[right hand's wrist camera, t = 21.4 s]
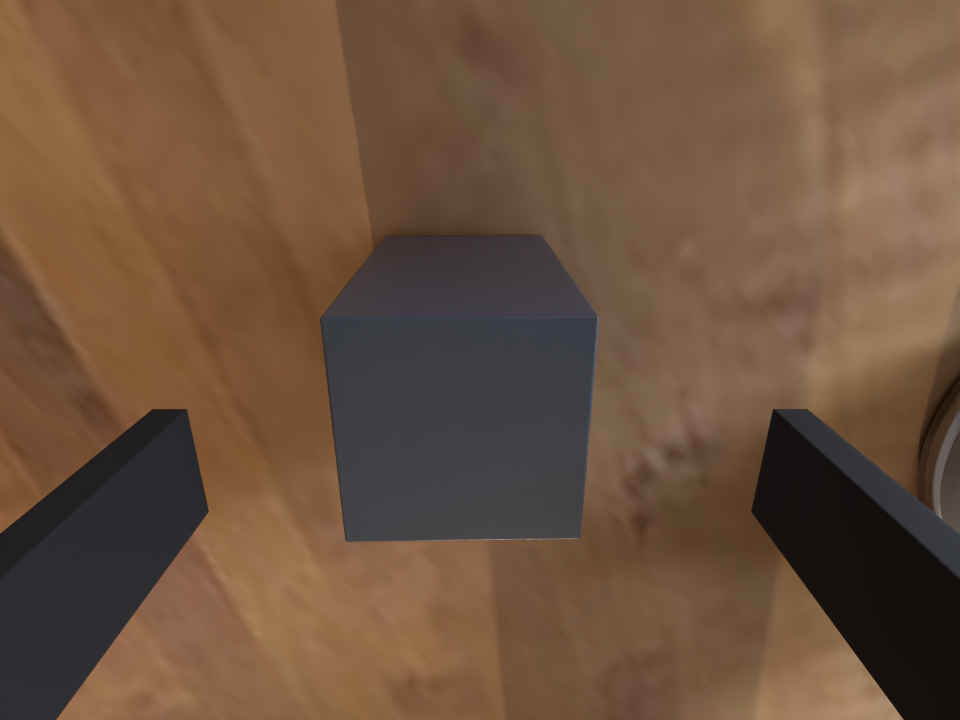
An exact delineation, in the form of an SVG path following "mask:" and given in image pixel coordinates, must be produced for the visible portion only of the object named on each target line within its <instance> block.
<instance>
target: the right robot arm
mask: <svg viewBox="0 0 960 720" xmlns="http://www.w3.org/2000/svg"><path fill="white" fill-rule="evenodd" d="M918 493H919V499H920V501H919V500H918V499H916V498H915V497H914V496H913V495H912V494H910V493H909V492H908V491H907V490H905V489H904V488H903V487H902V486H901V485H899V484H898V483H897V482H896V481H894V480H893V479H892V478H891V477H890V476H888V475H887V474H886V473H885V472H883V471H882V470H881V469H880V468H879V467H877V466H876V465H875V464H874V463H872V462H871V461H870V460H869V459H868V458H866V457H865V456H864V455H863V454H861V453H860V452H859V451H858V450H857V449H855V448H854V447H853V446H852V445H850V444H849V443H848V442H847V441H845V440H844V439H843V438H842V437H841V436H839V435H838V434H837V433H836V432H834V431H833V430H832V429H831V428H830V427H828V426H827V425H826V424H825V423H823V422H822V421H821V420H820V419H819V418H817V417H816V416H815V415H814V414H812V413H811V412H810V411H809V410H808V409H773V412H772V417H771V422H770V426H769V431H768V436H767V440H766V445H765V450H764V455H763V459H762V464H761V469H760V473H759V478H758V483H757V487H756V492H755V497H754V502H753V506H752V511H751V512H752V513H753V515H754V516H755V518H756V519H757V520H758V522H759V523H760V524H761V526H762V527H763V528H764V530H765V531H766V533H767V534H768V535H769V537H770V538H771V539H772V541H773V542H774V543H775V545H776V546H777V548H778V549H779V550H780V552H781V553H782V554H783V556H784V557H785V558H786V560H787V561H788V563H789V564H790V565H791V567H792V568H793V569H794V571H795V572H796V573H797V575H798V576H799V578H800V579H801V580H802V582H803V583H804V584H805V586H806V587H807V588H808V590H809V591H810V593H811V594H812V595H813V597H814V598H815V599H816V601H817V602H818V603H819V605H820V606H821V608H822V609H823V610H824V612H825V613H826V614H827V616H828V617H829V618H830V620H831V621H832V623H833V624H834V625H835V627H836V628H837V629H838V631H839V632H840V633H841V635H842V636H843V638H844V639H845V640H846V642H847V643H848V644H849V646H850V647H851V648H852V650H853V651H854V653H855V654H856V655H857V657H858V658H859V659H860V661H861V662H862V663H863V665H864V666H865V667H866V669H867V670H868V672H869V673H870V674H871V676H872V677H873V678H874V680H875V681H876V682H877V684H878V685H879V687H880V688H881V689H882V691H883V692H884V693H885V695H886V696H887V697H888V699H889V700H890V702H891V703H892V704H893V706H894V707H895V708H896V710H897V711H898V712H899V714H900V715H901V717H902V718H903V719H904V720H960V379H959V381H958V382H957V383H956V385H955V386H954V387H953V389H952V390H951V392H950V393H949V394H948V396H947V397H946V399H945V401H944V402H943V404H942V405H941V407H940V409H939V410H938V412H937V414H936V416H935V418H934V420H933V422H932V424H931V426H930V429H929V431H928V434H927V436H926V439H925V442H924V445H923V449H922V452H921V457H920V462H919V469H918ZM208 512H209V511H208V506H207V502H206V497H205V492H204V487H203V483H202V478H201V473H200V469H199V464H198V459H197V455H196V450H195V445H194V440H193V436H192V431H191V426H190V422H189V417H188V412H187V409H152V410H151V411H150V412H149V413H148V414H146V415H145V416H144V417H143V418H141V419H140V420H139V421H138V422H137V423H135V424H134V425H133V426H132V427H130V428H129V429H128V430H127V431H126V432H124V433H123V434H122V435H121V436H119V437H118V438H117V439H116V440H115V441H113V442H112V443H111V444H110V445H108V446H107V447H106V448H105V449H103V450H102V451H101V452H100V453H99V454H97V455H96V456H95V457H94V458H92V459H91V460H90V461H89V462H88V463H86V464H85V465H84V466H83V467H81V468H80V469H79V470H78V471H77V472H75V473H74V474H73V475H72V476H70V477H69V478H68V479H67V480H66V481H64V482H63V483H62V484H61V485H59V486H58V487H57V488H56V489H55V490H53V491H52V492H51V493H50V494H48V495H47V496H46V497H45V498H44V499H42V500H41V501H40V502H39V503H37V504H36V505H35V506H34V507H32V508H31V509H30V510H29V511H28V512H26V513H25V514H24V515H23V516H21V517H20V518H19V519H18V520H17V521H15V522H14V523H13V524H12V525H10V526H9V527H8V528H7V529H6V530H4V531H3V532H2V533H1V534H0V720H56V719H57V718H58V717H59V715H60V714H61V712H62V711H63V710H64V708H65V707H66V706H67V704H68V703H69V702H70V700H71V699H72V697H73V696H74V695H75V693H76V692H77V691H78V689H79V688H80V687H81V685H82V684H83V682H84V681H85V680H86V678H87V677H88V676H89V674H90V673H91V672H92V670H93V669H94V667H95V666H96V665H97V663H98V662H99V661H100V659H101V658H102V657H103V655H104V654H105V653H106V651H107V650H108V648H109V647H110V646H111V644H112V643H113V642H114V640H115V639H116V638H117V636H118V635H119V633H120V632H121V631H122V629H123V628H124V627H125V625H126V624H127V623H128V621H129V620H130V618H131V617H132V616H133V614H134V613H135V612H136V610H137V609H138V608H139V606H140V605H141V603H142V602H143V601H144V599H145V598H146V597H147V595H148V594H149V593H150V591H151V590H152V588H153V587H154V586H155V584H156V583H157V582H158V580H159V579H160V578H161V576H162V575H163V573H164V572H165V571H166V569H167V568H168V567H169V565H170V564H171V563H172V561H173V560H174V558H175V557H176V556H177V554H178V553H179V552H180V550H181V549H182V548H183V546H184V545H185V543H186V542H187V541H188V539H189V538H190V537H191V535H192V534H193V533H194V531H195V530H196V528H197V527H198V526H199V524H200V523H201V522H202V520H203V519H204V518H205V516H206V515H207V513H208Z"/></svg>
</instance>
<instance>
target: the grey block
mask: <svg viewBox="0 0 960 720" xmlns="http://www.w3.org/2000/svg"><path fill="white" fill-rule="evenodd" d="M320 323H321V331H322V340H323V349H324V358H325V366H326V375H327V384H328V393H329V401H330V410H331V419H332V428H333V436H334V445H335V454H336V463H337V471H338V480H339V489H340V498H341V506H342V515H343V524H344V533H345V540H346V542H393V541H470V540H546V539H580V536H581V524H582V513H583V501H584V489H585V477H586V466H587V454H588V442H589V431H590V419H591V407H592V396H593V384H594V372H595V360H596V349H597V337H598V325H599V316H598V315H597V313H596V312H595V310H594V309H593V308H592V306H591V305H590V303H589V302H588V300H587V299H586V298H585V296H584V295H583V293H582V292H581V290H580V289H579V288H578V286H577V285H576V283H575V282H574V280H573V279H572V278H571V276H570V275H569V273H568V272H567V271H566V269H565V268H564V266H563V265H562V263H561V262H560V261H559V259H558V258H557V256H556V255H555V253H554V252H553V251H552V249H551V248H550V246H549V245H548V243H547V242H546V241H545V239H544V238H543V236H541V235H513V236H385V237H384V238H383V239H382V241H381V242H380V243H379V244H378V246H377V247H376V248H375V249H374V251H373V252H372V253H371V255H370V256H369V257H368V258H367V260H366V261H365V262H364V263H363V265H362V266H361V267H360V269H359V270H358V271H357V272H356V274H355V275H354V276H353V277H352V279H351V280H350V281H349V282H348V284H347V285H346V286H345V288H344V289H343V290H342V291H341V293H340V294H339V295H338V296H337V298H336V299H335V300H334V302H333V303H332V304H331V305H330V307H329V308H328V309H327V310H326V312H325V313H324V314H323V316H322V317H321V319H320Z"/></svg>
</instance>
